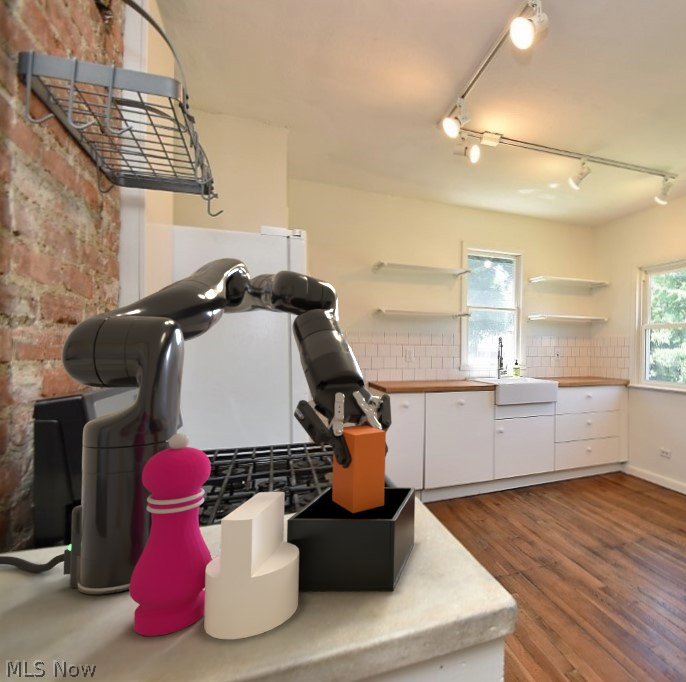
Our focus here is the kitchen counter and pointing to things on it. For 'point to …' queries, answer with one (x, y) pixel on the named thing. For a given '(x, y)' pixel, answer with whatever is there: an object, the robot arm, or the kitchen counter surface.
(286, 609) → the cylinder with rectangular tab
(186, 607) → the pepper mill
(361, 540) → the bin
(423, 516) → the kitchen counter surface
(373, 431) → the orange rectangular block
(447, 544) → the kitchen counter surface
